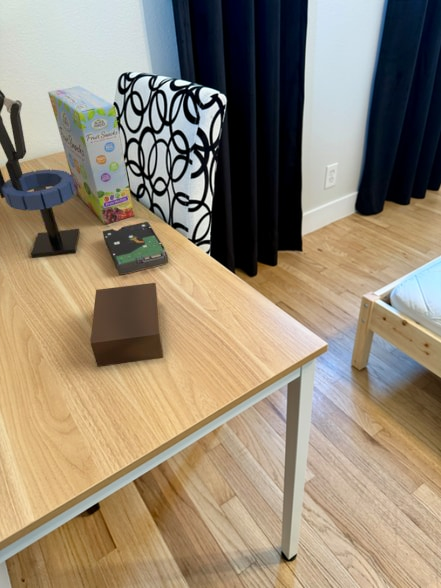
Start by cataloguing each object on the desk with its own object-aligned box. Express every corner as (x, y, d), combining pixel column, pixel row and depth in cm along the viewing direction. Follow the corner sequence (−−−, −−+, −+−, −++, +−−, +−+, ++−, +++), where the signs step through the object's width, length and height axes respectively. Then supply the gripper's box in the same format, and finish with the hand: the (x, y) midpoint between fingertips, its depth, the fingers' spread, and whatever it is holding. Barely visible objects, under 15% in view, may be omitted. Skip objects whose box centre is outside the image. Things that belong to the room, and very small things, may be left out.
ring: (0, 213, 81) (-6, 198, 79) (15, 186, 91) (10, 172, 89) (71, 206, 82) (67, 192, 80) (77, 180, 92) (74, 167, 91)
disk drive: (103, 242, 94) (119, 276, 83) (101, 231, 93) (116, 264, 82) (149, 231, 97) (170, 263, 86) (147, 220, 96) (168, 251, 85)
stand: (97, 366, 65) (90, 342, 62) (101, 312, 75) (95, 289, 72) (163, 357, 66) (159, 333, 63) (159, 305, 76) (155, 282, 73)
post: (31, 258, 90) (11, 200, 82) (39, 236, 97) (21, 182, 89) (75, 253, 91) (60, 196, 83) (79, 232, 98) (65, 178, 90)
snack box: (72, 194, 114) (45, 90, 98) (103, 186, 118) (82, 84, 102) (102, 226, 100) (76, 110, 84) (136, 216, 103) (118, 102, 87)
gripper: (-93, 69, 67) (-34, 206, 82) (8, 63, 69) (48, 198, 83) (-75, 61, 73) (-23, 190, 88) (18, 55, 75) (54, 183, 89)
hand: (12, 194), depth 85 cm, fingers closed on ring, 2 cm apart
